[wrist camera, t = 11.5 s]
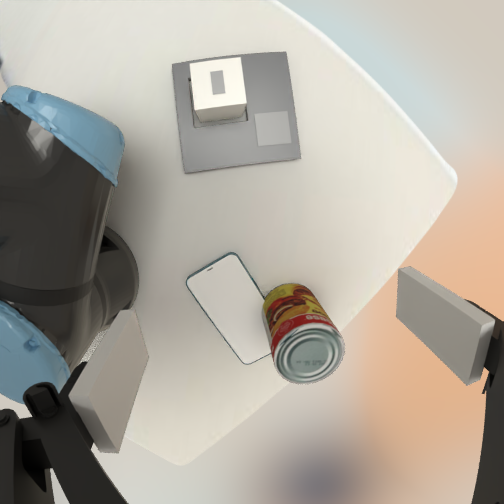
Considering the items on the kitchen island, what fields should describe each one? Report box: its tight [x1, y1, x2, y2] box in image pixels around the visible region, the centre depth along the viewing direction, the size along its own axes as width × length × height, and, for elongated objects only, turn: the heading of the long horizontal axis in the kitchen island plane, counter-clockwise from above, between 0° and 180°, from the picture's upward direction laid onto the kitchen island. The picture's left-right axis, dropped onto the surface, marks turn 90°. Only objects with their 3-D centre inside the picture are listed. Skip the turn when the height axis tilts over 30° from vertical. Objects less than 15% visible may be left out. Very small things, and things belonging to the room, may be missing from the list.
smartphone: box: [186, 252, 271, 364], centre depth 44 cm, size 8×1×16 cm
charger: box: [190, 57, 247, 123], centre depth 32 cm, size 5×5×9 cm
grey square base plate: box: [172, 52, 301, 173], centre depth 36 cm, size 14×14×2 cm
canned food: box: [261, 283, 345, 384], centre depth 39 cm, size 8×8×12 cm
